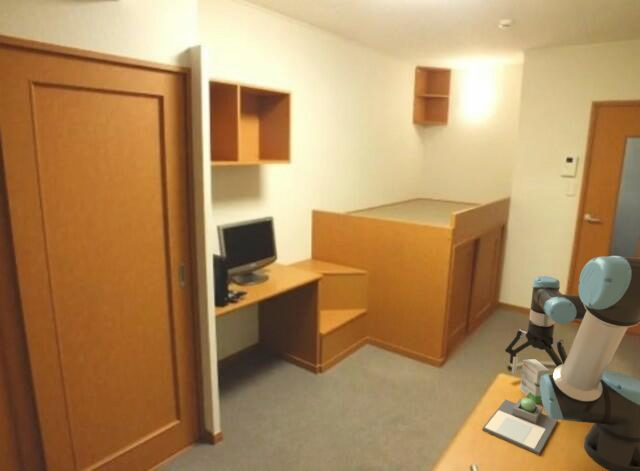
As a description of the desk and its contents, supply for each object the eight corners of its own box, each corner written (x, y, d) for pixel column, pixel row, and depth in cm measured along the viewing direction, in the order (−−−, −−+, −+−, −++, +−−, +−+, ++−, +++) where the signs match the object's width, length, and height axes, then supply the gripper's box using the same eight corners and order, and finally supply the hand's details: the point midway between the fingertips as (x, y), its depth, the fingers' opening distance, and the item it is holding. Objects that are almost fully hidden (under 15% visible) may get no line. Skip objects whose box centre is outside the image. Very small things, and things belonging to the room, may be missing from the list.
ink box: (547, 402, 144) (551, 370, 141) (534, 403, 143) (538, 371, 141) (531, 388, 152) (535, 358, 150) (518, 389, 152) (522, 359, 149)
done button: (536, 408, 136) (537, 401, 135) (532, 414, 133) (533, 407, 133) (523, 403, 139) (523, 396, 138) (519, 409, 136) (519, 402, 135)
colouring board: (557, 421, 134) (558, 412, 133) (539, 455, 119) (540, 444, 119) (505, 401, 144) (506, 393, 144) (482, 430, 130) (483, 420, 129)
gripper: (587, 329, 137) (578, 388, 142) (507, 309, 153) (501, 362, 158) (581, 337, 131) (572, 398, 136) (499, 315, 148) (493, 370, 152)
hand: (534, 379), depth 147 cm, fingers open, 13 cm apart
